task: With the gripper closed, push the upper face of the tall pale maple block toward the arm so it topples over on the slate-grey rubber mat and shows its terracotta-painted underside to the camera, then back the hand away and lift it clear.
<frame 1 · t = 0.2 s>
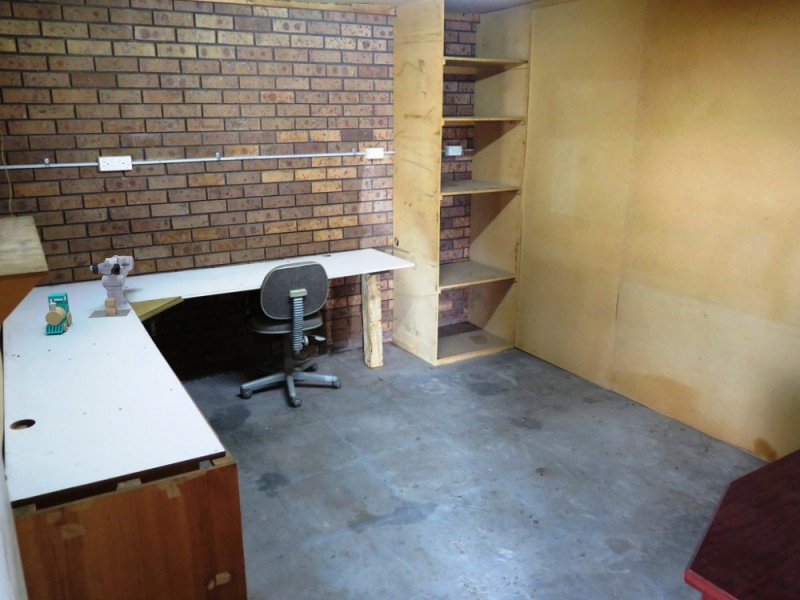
hand: (102, 271, 293), 22 cm above the table, tool horizontal, fingers open, 7 cm apart
slate mat: (110, 314, 300), on the table
toy train: (58, 330, 275), on the table
maple block: (111, 314, 298), resting on slate mat
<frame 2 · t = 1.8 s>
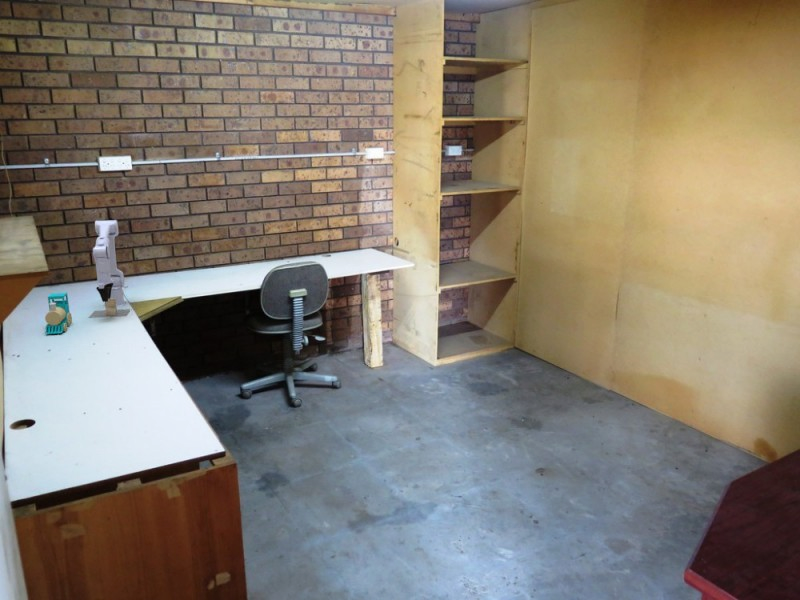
hand: (106, 300, 289), 9 cm above the table, tool pointing down, fingers open, 5 cm apart
nothing on the table moved.
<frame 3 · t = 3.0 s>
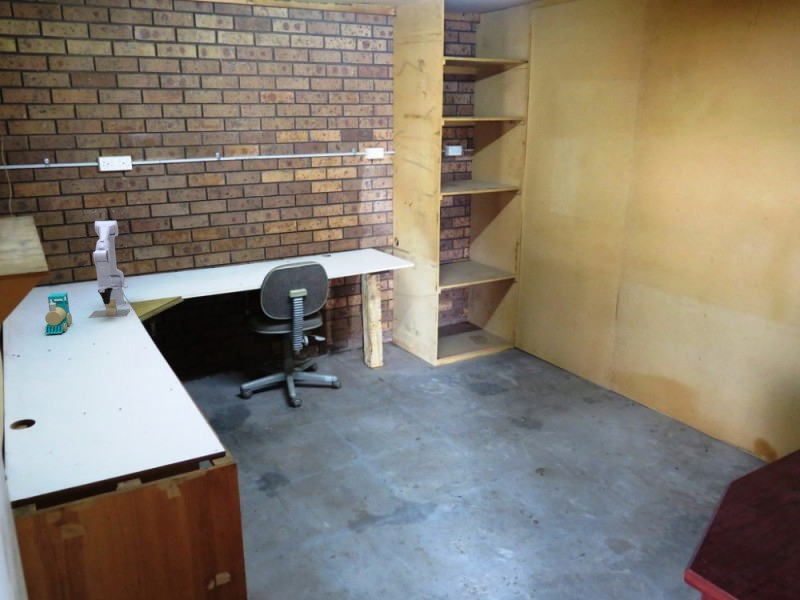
hand: (106, 303, 290), 8 cm above the table, tool pointing down, fingers closed
nothing on the table moved.
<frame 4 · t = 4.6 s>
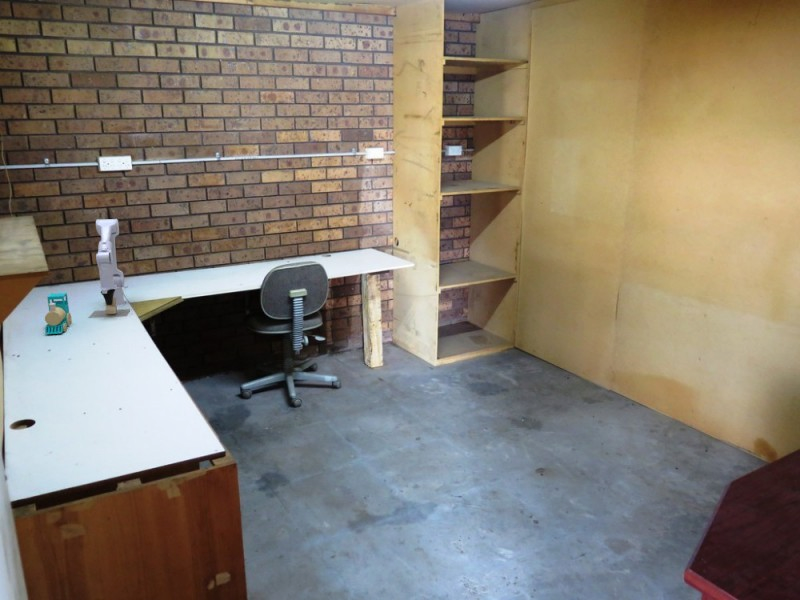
hand: (109, 304, 295), 6 cm above the table, tool pointing down, fingers closed
maple block: (111, 313, 298), point 1 cm above the table, tilted 9°, touching gripper, slate mat
everything else where it was.
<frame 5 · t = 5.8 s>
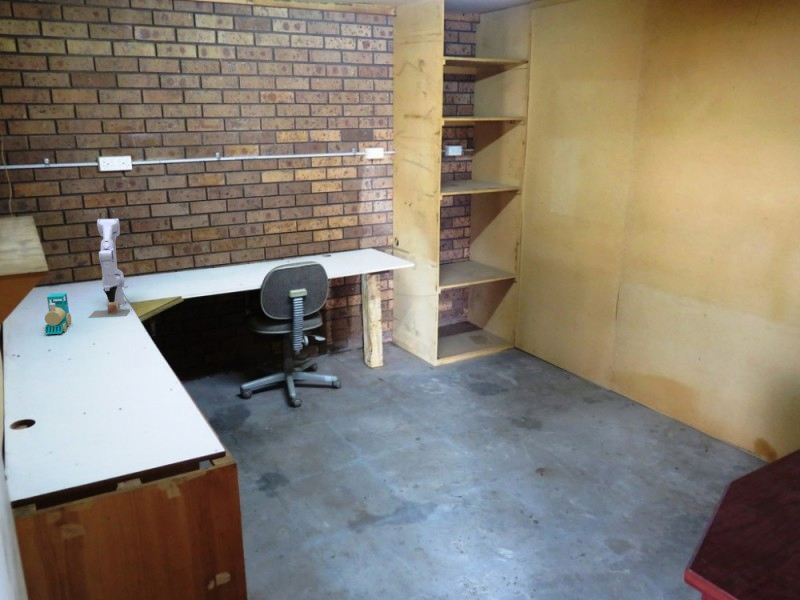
hand: (111, 302, 300), 6 cm above the table, tool pointing down, fingers closed
maple block: (112, 309, 300), point 2 cm above the table, tilted 90°, touching slate mat
everything else where it was.
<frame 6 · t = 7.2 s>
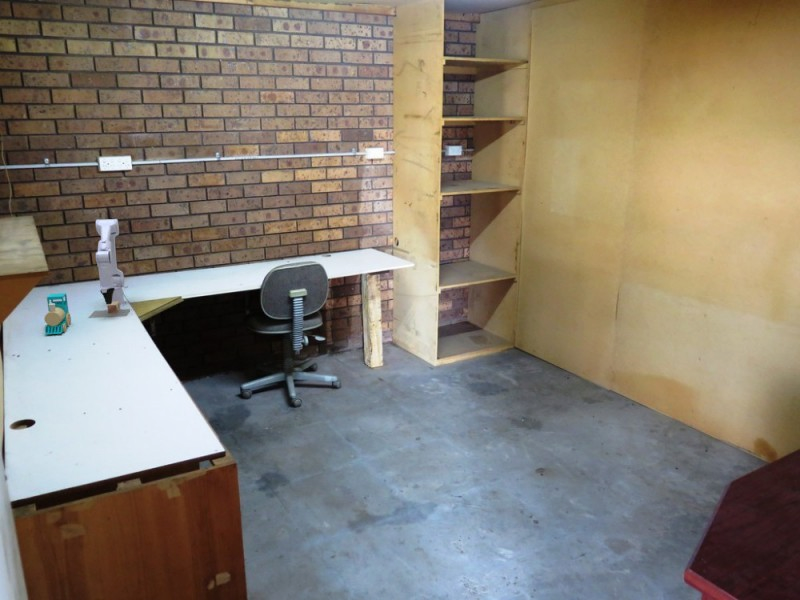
hand: (109, 303, 294), 7 cm above the table, tool pointing down, fingers closed
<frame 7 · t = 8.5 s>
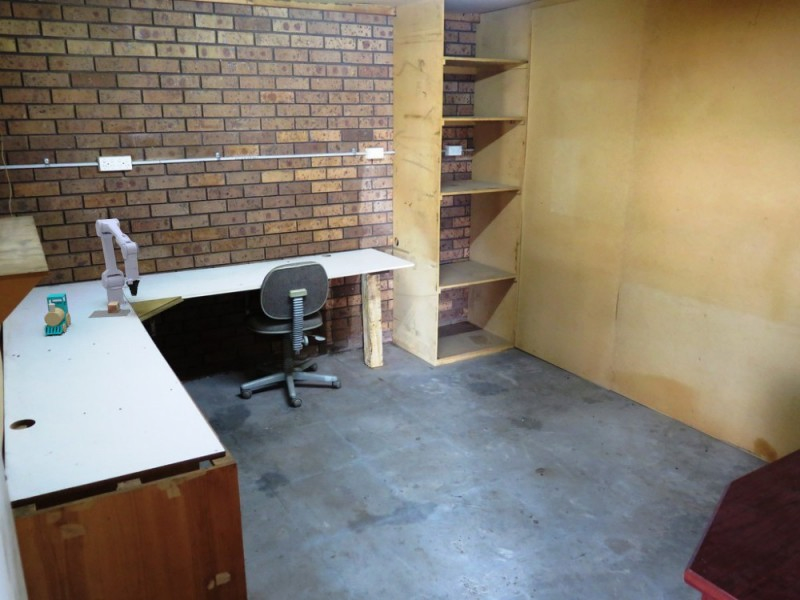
hand: (134, 295, 298), 9 cm above the table, tool pointing down, fingers closed
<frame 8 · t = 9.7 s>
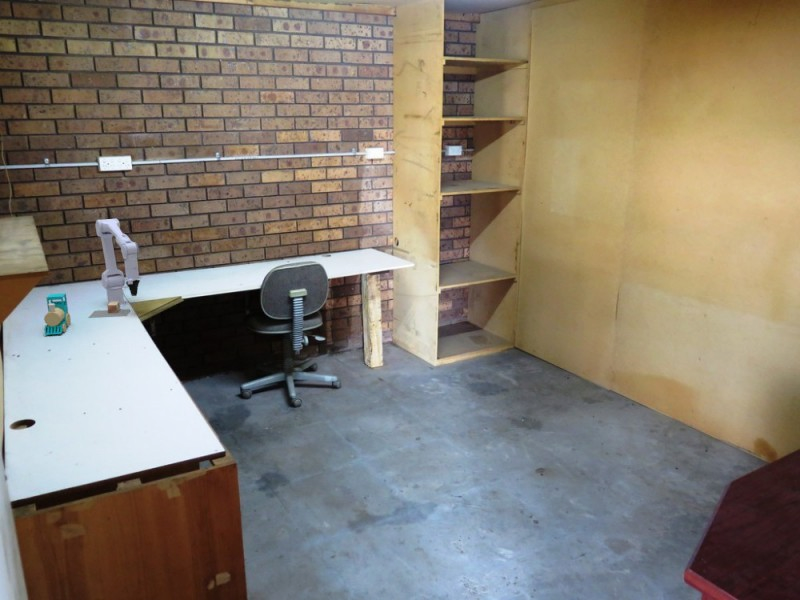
hand: (134, 295, 298), 9 cm above the table, tool pointing down, fingers closed
at the end: maple block tilted 90°; maple block inside the target area on the slate mat (0.7 cm from its centre), point 2.5 cm above the slate mat's base; the gripper is holding nothing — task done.
